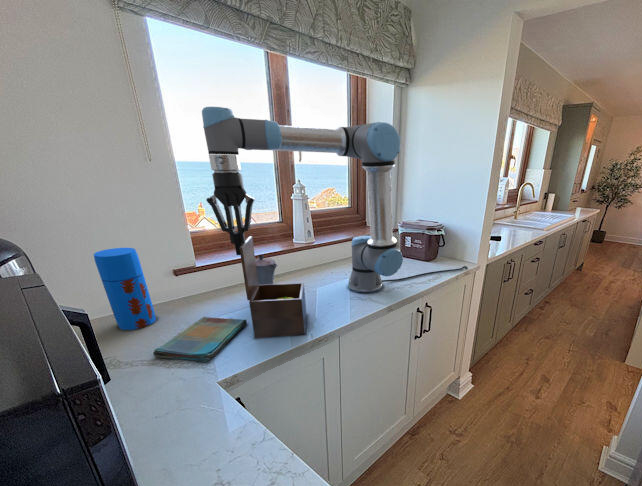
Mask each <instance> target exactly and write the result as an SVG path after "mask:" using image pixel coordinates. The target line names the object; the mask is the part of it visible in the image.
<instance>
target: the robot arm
mask: <svg viewBox="0 0 642 486" xmlns="http://www.w3.org/2000/svg"><path fill="white" fill-rule="evenodd" d="M201 116H202V124H203V125H202V127H203V131H204V136H205V141H206V146H207V147H206V148H207V151H208V152H207V153H208V159H209V165H210V169H211V170H212V171H213V172H212V174H211V175H212V176H211V177H212V180H213V187H214V191H213V194H212V195H211V196H209V197H207V198H206V202H207V203H208V205H209V206H210V207H211V209H212V211H213V214H214V215H215V218H216V220H217V223H218V224H219V227H220V230H221V231H222V232H226V233H228V234H229V238H230V239H229V240H230V243H231V245H234V249H235V254H236V256H241V255H240V246H241V245H242V244H243V243H244V242H245V241H246V238H245V237H246V236H245V232H248V231H249V230H250V229H251V220H252V214H253V213H252V211H253V205H254V203H255V201H256V198H255V197H254V196H250V195H249V194H248V193H247V191H246V190H245V186H244V181H243V180H244V179H243V174H242V172H240V171H241V170H242V166H241V160H240V153H239V149H241V150H246V151H252V150H253V151H276V152H277V151H278V152H279V151H280V152H303V153H329V154H336V155H337V156H339V157H347V158H353V159H357V160H361V167H362V169H364V171H365V172H366V180H367V181H366V182H367V197H368V199H367V200H368V210H369V211H368V212H369V213H368V215H369V231H370V235H359V236H355V237H353V238H352V240H351V260H352V261H351V265H352V266H351V268H352V269H351V274H350V277H349V279H348V289H349V290H351V291H353V292H354V293H361V294H369V293H375V292H378V291H380V290H382V289H383V283H386V282H399V281H404V280H408V279H413V278H417V277H421V276H426V275H432V274H437V273H438V274H439V273H447V272H455V271H456V272H457V271H461V270H464V269H468V267H467V266H465V265H464V266H462V267H459V268H453V269H451V268H450V269H444V270H443V269H442V270H435V271H429V272H423V273H418V274H415V275H411V276H405V277H402V278H395V279H384V280H383V279H382V277H381V276H383V277H392V276H393V275H396V273H398V271H399V270H400V269H401V267H402V266H403V261H404V257H403V253H402V252H401V250H399V249H398V242H397V241H398V240H397V239H396V238H395V237H394V235H393V234H394V233H393V232H394V231H393V229H394V228H393V200H392V199H393V198H392V170H393V168H394V167H395V166H396V158H397V157H398V155H399V154H400V152H401V145H402V141H401V137H400V134H399V132H398V130H397V129H396V128H395V126H393V125H392V124H391V123H388V122H383V121H382V122H381V121H376V122H372V123H364V124H359V125H353V126H337V127H336V129H334V128H332V129H331V128H321V127H320V128H318V127H309V126H308V127H307V126H294V125H280V124H279V123H278V122H277V121H275V120H269V119H256V118H255V119H254V118H240V117H235V115H234V112H233V110H232V109H231V108H228V107H223V106H205V107H203V108H202V110H201ZM244 200H245V204H246V205H245V215H244V221H243V215H242V206H241V205H242V203H243V202H244ZM218 201H219V202H220V204H222V206H223V210H224V213H225V217H224V215H223V212H222V210H221V207H220V205H219V204H218ZM232 208H233V210H232ZM233 211H234V215H233ZM234 216H235V221H234ZM225 218H226V220H225ZM235 222H236V228H237V231H236V228H235Z"/></svg>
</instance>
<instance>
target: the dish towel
mask: <svg viewBox="0 0 642 486" xmlns="http://www.w3.org/2000/svg"><path fill="white" fill-rule="evenodd" d="M247 324H248V321H247V319H245V318H243V319H242V318H241V319H240V318H224V317H223V318H222V317H211V316H210V317H209V316H202V317H201V318H200V319H198V320H197V321H196V322H194V323H192V324H191V325H189V326H188V327H187V328H185V329H184V330H182V331H181V332H179V333H178V334H176V335H175V336H174V337H172V338H171V339H170V340H168V341H167V342H165V343H164V344H162V345H160V346H159V347H156V348H155V349H154V351H153V352H152V354H153V356H154V357H156V358H158V359H177V360H178V359H179V360H181V359H182V360H188V361H196V362H205V363H207V362H209V361H210V360H211V359H212V358H214V357H215V355H216V354H217V353H218V352H219V351H220V350H221V349H222V348H223V347H224V346H225V345H226V344H227V343H228V342H229V341H230V340H231V339H233V337H234V336H235V335H236V334H238V332H240V331H241V329H243V327H245V326H246V325H247Z"/></svg>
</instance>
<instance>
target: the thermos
mask: <svg viewBox="0 0 642 486" xmlns="http://www.w3.org/2000/svg"><path fill="white" fill-rule="evenodd" d="M93 258H94V259H93V260H94V263H95V266H96V268H97V271H98V274H99V277H100V280H101V283H102V285H103V289H104V291H105V295H106V296H107V299H108V300H107V301H108V302H109V306H110V308H111V311H112V314H113V317H114V320H115V321H116V324H117V326H118V328H119V329H121V330H123V331H133V330H138V329H142V328H145V327H148V326H150V325H152V324H153V323H155V322H156V321H157V317H156V313H155V309H154V305H153V302H152V299H151V295H150V292H149V288H148V284H147V281H146V278H145V275H144V271H143V268H142V265H141V261H140V258H139V254H138V253H137V251H136V248H133V247H114V248H108V249H107V248H106V249H102V250H99V251H96V252H94V253H93Z"/></svg>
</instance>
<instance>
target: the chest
mask: <svg viewBox="0 0 642 486" xmlns="http://www.w3.org/2000/svg"><path fill="white" fill-rule="evenodd" d="M284 297H292V298H294V299H278V298H284ZM276 299H277V300H276ZM248 303H249V310H250V316H251V322H252V328H253V335H254V339H259V338H260V339H261V338H263V339H264V338H273V337H274V338H275V337H276V338H277V337H291V336H305V335H306V324H307V305H306V293H305V283H304V282H291V283H290V282H289V283H287V282H286V283H273V284H263V285H257V287H256V289H255V291H254V293H253V295H252V297H251V300H248Z"/></svg>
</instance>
